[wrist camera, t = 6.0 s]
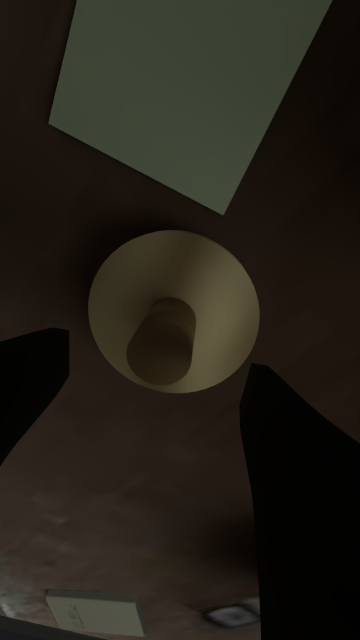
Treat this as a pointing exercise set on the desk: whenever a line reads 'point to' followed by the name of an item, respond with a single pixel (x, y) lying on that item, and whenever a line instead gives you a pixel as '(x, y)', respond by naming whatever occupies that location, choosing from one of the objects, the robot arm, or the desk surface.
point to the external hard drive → (97, 612)
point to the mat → (181, 84)
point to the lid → (173, 311)
